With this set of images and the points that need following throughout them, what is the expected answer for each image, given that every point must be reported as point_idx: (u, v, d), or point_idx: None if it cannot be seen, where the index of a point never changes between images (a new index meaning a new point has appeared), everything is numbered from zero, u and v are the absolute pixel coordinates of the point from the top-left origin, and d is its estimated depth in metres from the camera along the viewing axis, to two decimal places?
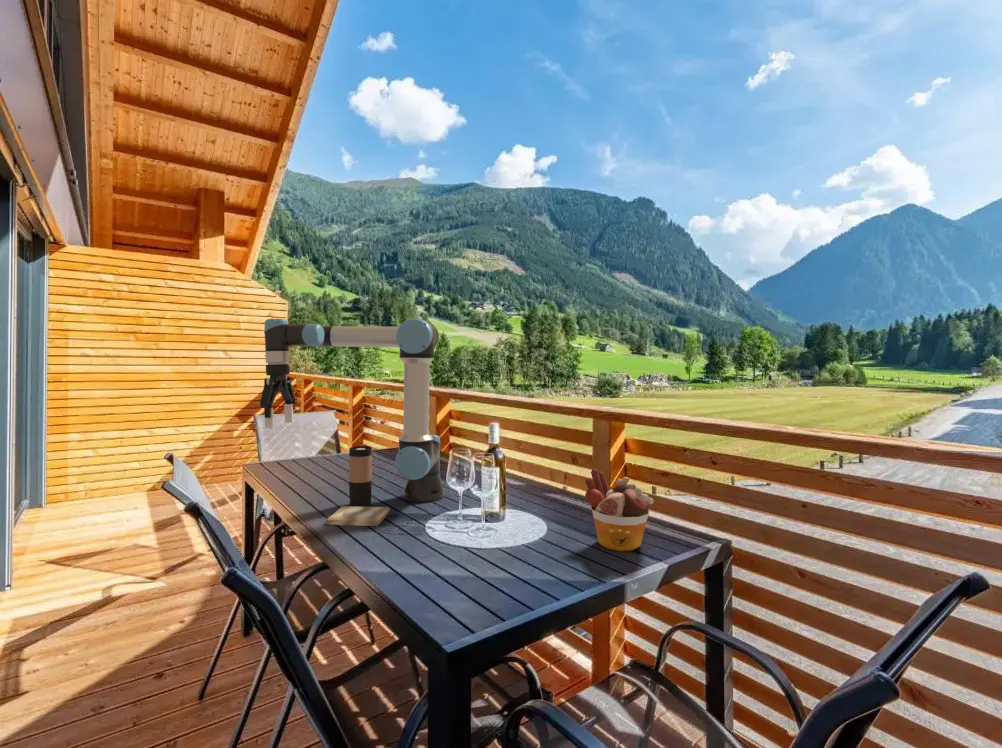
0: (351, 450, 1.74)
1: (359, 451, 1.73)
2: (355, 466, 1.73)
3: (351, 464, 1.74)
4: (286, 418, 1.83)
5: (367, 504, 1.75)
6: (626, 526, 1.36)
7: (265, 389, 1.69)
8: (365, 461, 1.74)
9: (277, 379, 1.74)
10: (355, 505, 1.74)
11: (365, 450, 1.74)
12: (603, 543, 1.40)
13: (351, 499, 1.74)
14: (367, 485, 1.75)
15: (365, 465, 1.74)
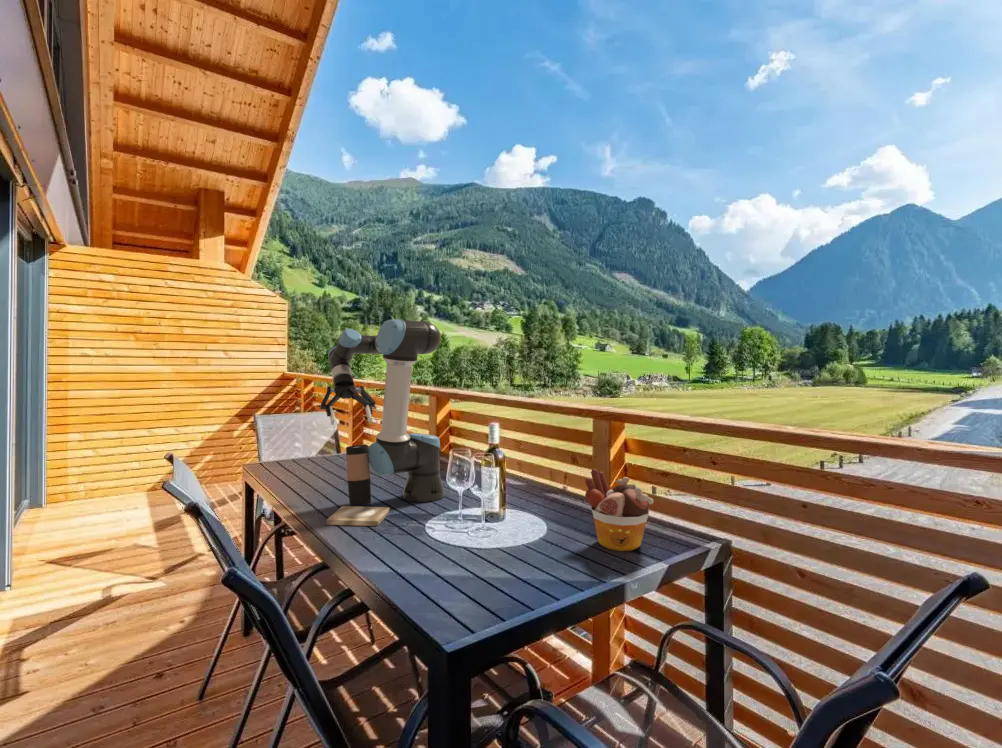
0: (348, 448, 1.75)
1: (356, 449, 1.74)
2: (353, 463, 1.74)
3: (348, 462, 1.75)
4: (368, 418, 1.93)
5: (367, 502, 1.75)
6: (626, 526, 1.36)
7: None
8: (362, 458, 1.75)
9: (338, 387, 1.96)
10: (355, 503, 1.74)
11: (361, 447, 1.75)
12: (603, 543, 1.40)
13: (351, 498, 1.75)
14: (366, 482, 1.75)
15: (362, 462, 1.75)
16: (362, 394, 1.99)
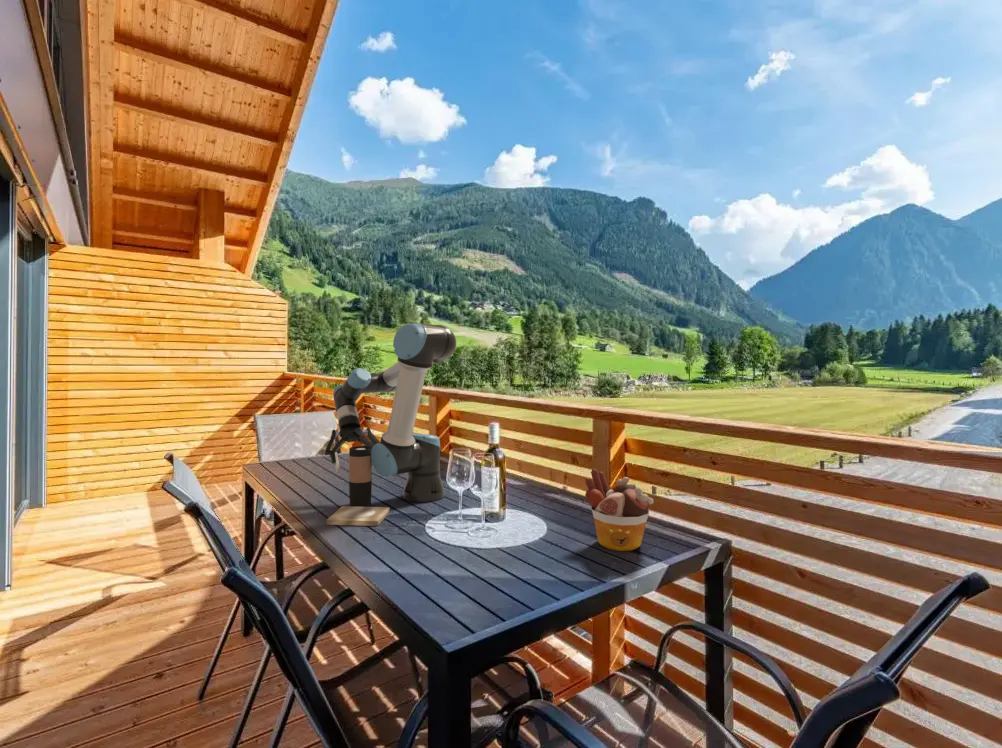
0: (351, 450, 1.74)
1: (359, 451, 1.73)
2: (355, 466, 1.73)
3: (351, 464, 1.74)
4: None
5: (367, 504, 1.75)
6: (626, 526, 1.36)
7: None
8: (365, 461, 1.74)
9: (344, 430, 1.85)
10: (355, 505, 1.74)
11: (365, 450, 1.74)
12: (603, 543, 1.40)
13: (351, 499, 1.74)
14: (367, 485, 1.75)
15: (365, 465, 1.74)
16: (369, 437, 1.89)
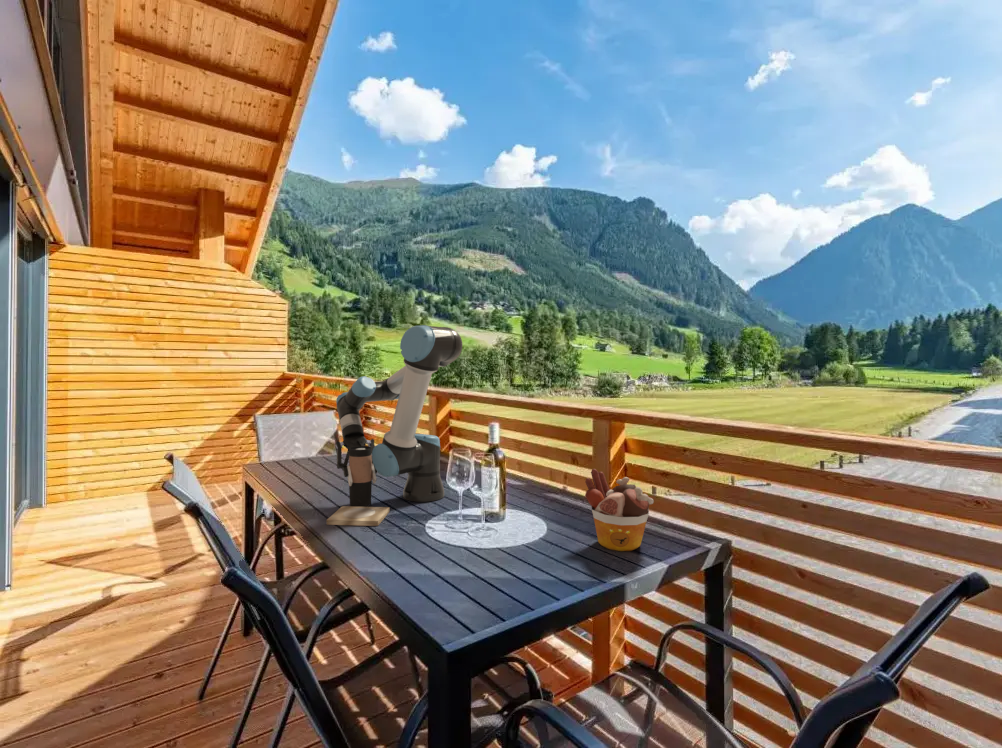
0: (351, 450, 1.74)
1: (359, 451, 1.73)
2: (355, 466, 1.73)
3: (351, 464, 1.74)
4: (372, 479, 1.77)
5: (367, 504, 1.75)
6: (626, 526, 1.36)
7: (337, 453, 1.79)
8: (365, 461, 1.74)
9: (347, 439, 1.82)
10: (355, 505, 1.74)
11: (365, 450, 1.74)
12: (603, 543, 1.40)
13: (351, 499, 1.74)
14: (367, 485, 1.75)
15: (365, 465, 1.74)
16: (371, 448, 1.85)
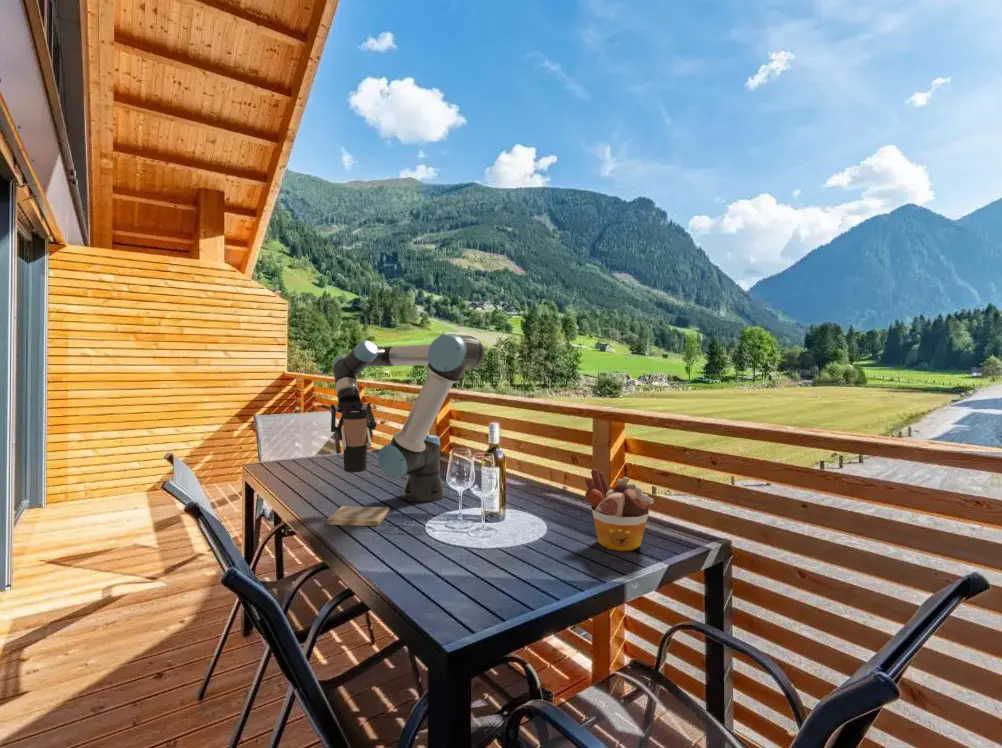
0: (345, 412, 1.67)
1: (353, 413, 1.66)
2: (349, 429, 1.66)
3: (345, 427, 1.67)
4: (367, 443, 1.70)
5: (362, 469, 1.69)
6: (626, 526, 1.36)
7: (331, 416, 1.72)
8: (359, 424, 1.67)
9: (342, 403, 1.76)
10: (349, 470, 1.67)
11: (359, 413, 1.67)
12: (603, 543, 1.40)
13: (345, 463, 1.68)
14: (362, 449, 1.68)
15: (359, 428, 1.67)
16: (367, 412, 1.78)
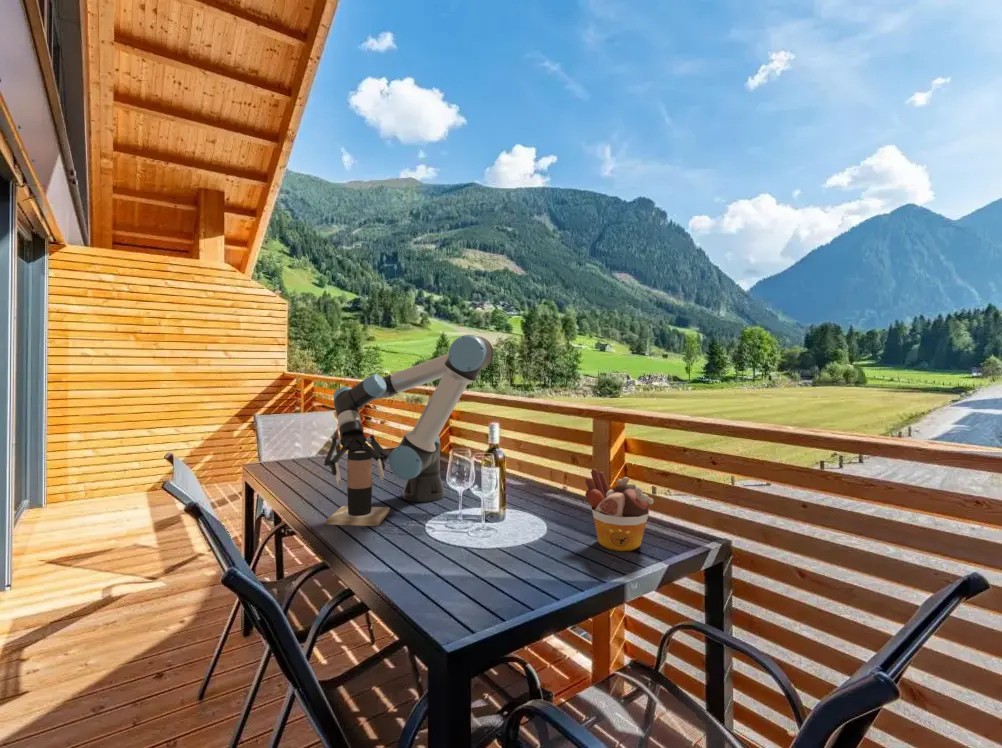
0: (350, 453, 1.60)
1: (358, 454, 1.59)
2: (354, 470, 1.59)
3: (349, 468, 1.60)
4: (379, 475, 1.65)
5: (367, 512, 1.61)
6: (626, 526, 1.36)
7: None
8: (365, 465, 1.60)
9: (345, 438, 1.68)
10: (354, 513, 1.60)
11: (365, 453, 1.60)
12: (603, 543, 1.40)
13: (349, 506, 1.60)
14: (367, 491, 1.61)
15: (364, 469, 1.60)
16: (373, 445, 1.72)
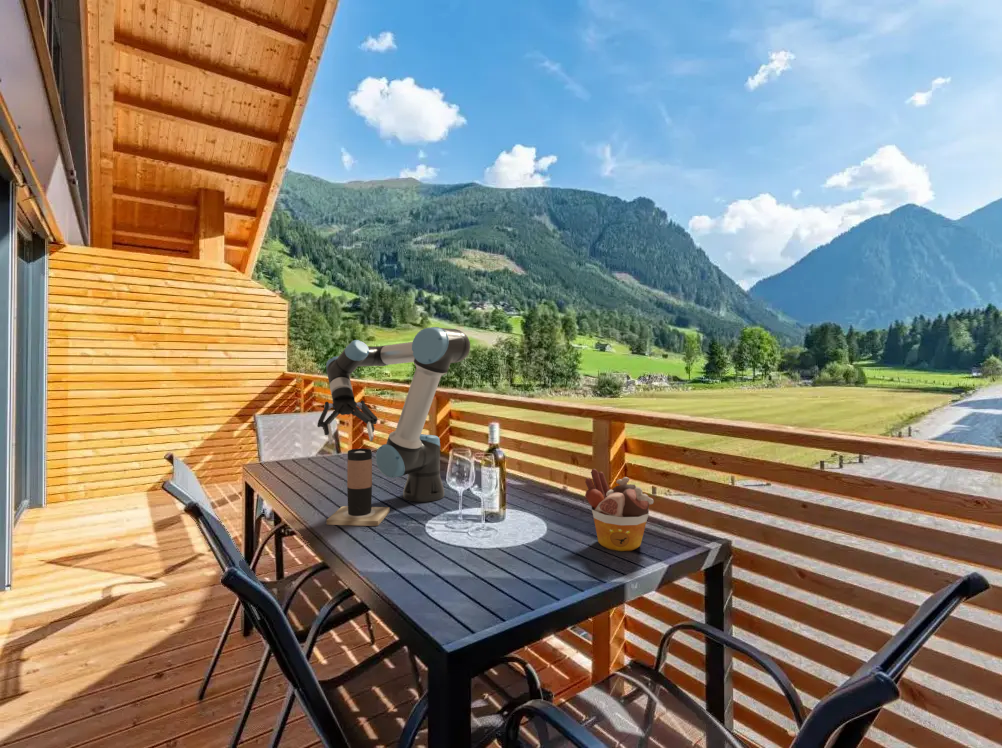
0: (349, 453, 1.60)
1: (358, 454, 1.59)
2: (354, 470, 1.59)
3: (349, 468, 1.60)
4: (369, 436, 1.77)
5: (367, 512, 1.61)
6: (626, 526, 1.36)
7: None
8: (364, 465, 1.60)
9: (337, 402, 1.80)
10: (354, 513, 1.60)
11: (365, 453, 1.60)
12: (603, 543, 1.40)
13: (349, 506, 1.60)
14: (367, 491, 1.61)
15: (364, 470, 1.60)
16: (363, 409, 1.83)
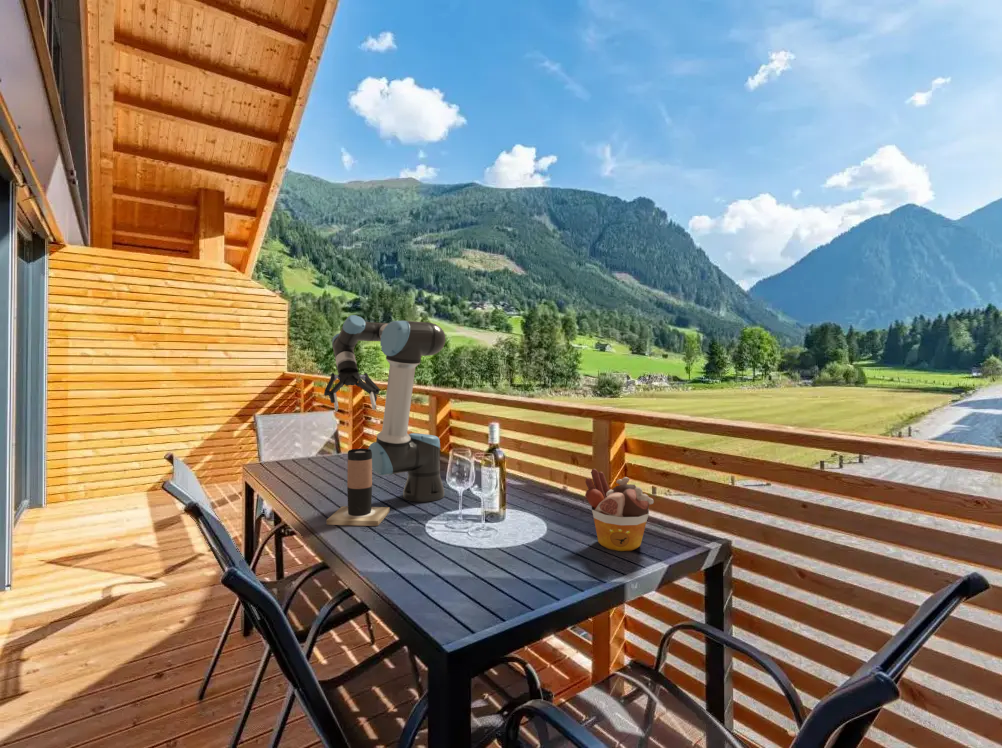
0: (350, 453, 1.60)
1: (358, 454, 1.59)
2: (354, 470, 1.59)
3: (350, 468, 1.60)
4: (372, 405, 1.91)
5: (367, 512, 1.61)
6: (626, 526, 1.36)
7: None
8: (365, 465, 1.60)
9: (342, 374, 1.94)
10: (354, 513, 1.60)
11: (365, 453, 1.60)
12: (603, 543, 1.40)
13: (349, 506, 1.60)
14: (367, 491, 1.61)
15: (364, 469, 1.60)
16: (366, 381, 1.97)
